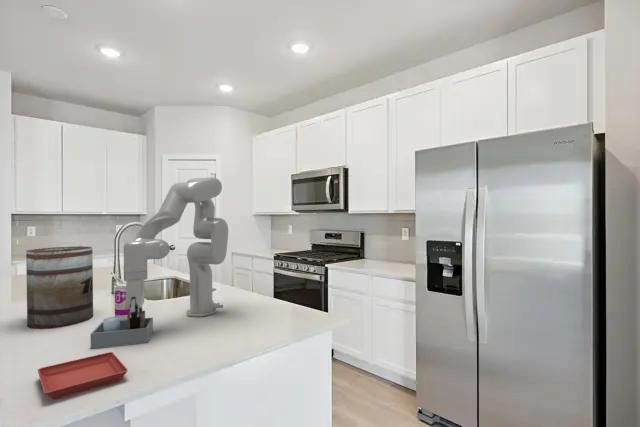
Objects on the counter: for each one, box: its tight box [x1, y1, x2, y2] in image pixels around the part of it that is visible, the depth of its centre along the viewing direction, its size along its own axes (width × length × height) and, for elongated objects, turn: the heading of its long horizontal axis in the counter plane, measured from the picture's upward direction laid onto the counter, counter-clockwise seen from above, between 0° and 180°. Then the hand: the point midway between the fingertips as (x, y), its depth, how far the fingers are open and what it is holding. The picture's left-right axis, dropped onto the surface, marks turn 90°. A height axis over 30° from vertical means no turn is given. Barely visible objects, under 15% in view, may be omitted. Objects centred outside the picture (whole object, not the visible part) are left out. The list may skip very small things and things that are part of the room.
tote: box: [90, 317, 154, 350], centre depth 127 cm, size 17×13×5 cm
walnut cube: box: [127, 310, 146, 330], centre depth 128 cm, size 5×5×5 cm
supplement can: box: [113, 282, 130, 320], centre depth 150 cm, size 8×8×15 cm
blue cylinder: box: [102, 316, 120, 332], centre depth 126 cm, size 5×5×7 cm
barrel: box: [25, 245, 94, 330], centre depth 150 cm, size 22×22×30 cm
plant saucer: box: [37, 351, 129, 400], centre depth 96 cm, size 18×18×3 cm
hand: (136, 325), depth 128 cm, fingers closed on walnut cube, 4 cm apart
